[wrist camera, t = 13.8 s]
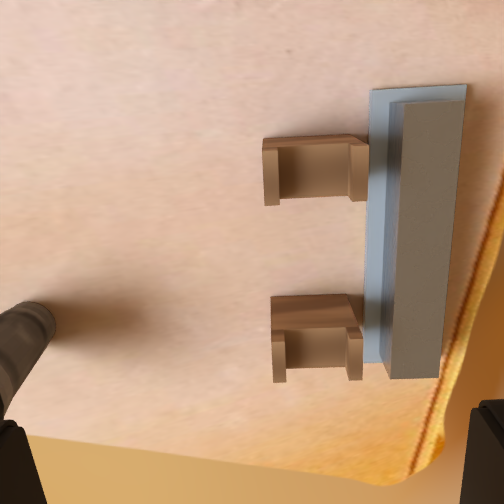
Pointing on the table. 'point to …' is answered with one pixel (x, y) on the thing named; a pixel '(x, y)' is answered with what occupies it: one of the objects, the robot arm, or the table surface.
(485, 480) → the robot arm
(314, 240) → the table surface
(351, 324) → the post far
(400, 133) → the rail
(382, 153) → the grey board
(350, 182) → the post near
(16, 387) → the beverage cup
